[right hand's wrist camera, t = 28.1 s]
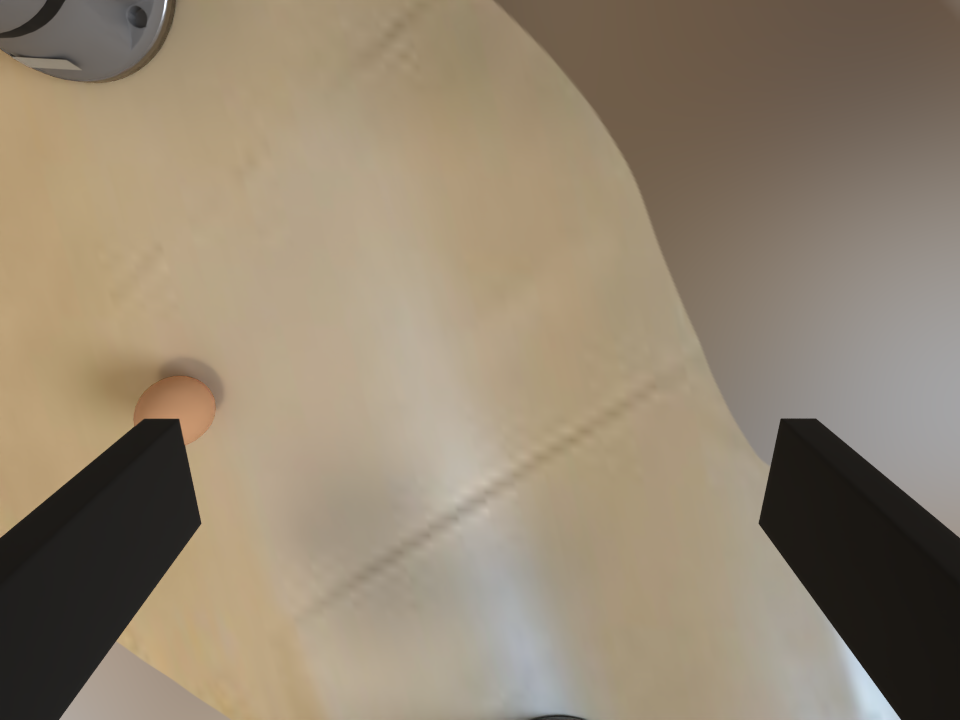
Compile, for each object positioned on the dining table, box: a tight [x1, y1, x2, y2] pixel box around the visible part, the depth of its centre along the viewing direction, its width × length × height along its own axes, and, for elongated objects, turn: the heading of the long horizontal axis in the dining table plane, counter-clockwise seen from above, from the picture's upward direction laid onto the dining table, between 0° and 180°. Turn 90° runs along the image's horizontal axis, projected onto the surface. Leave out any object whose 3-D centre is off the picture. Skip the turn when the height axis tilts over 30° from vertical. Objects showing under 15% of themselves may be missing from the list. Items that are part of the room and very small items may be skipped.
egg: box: [134, 376, 216, 445], centre depth 50 cm, size 6×6×8 cm
